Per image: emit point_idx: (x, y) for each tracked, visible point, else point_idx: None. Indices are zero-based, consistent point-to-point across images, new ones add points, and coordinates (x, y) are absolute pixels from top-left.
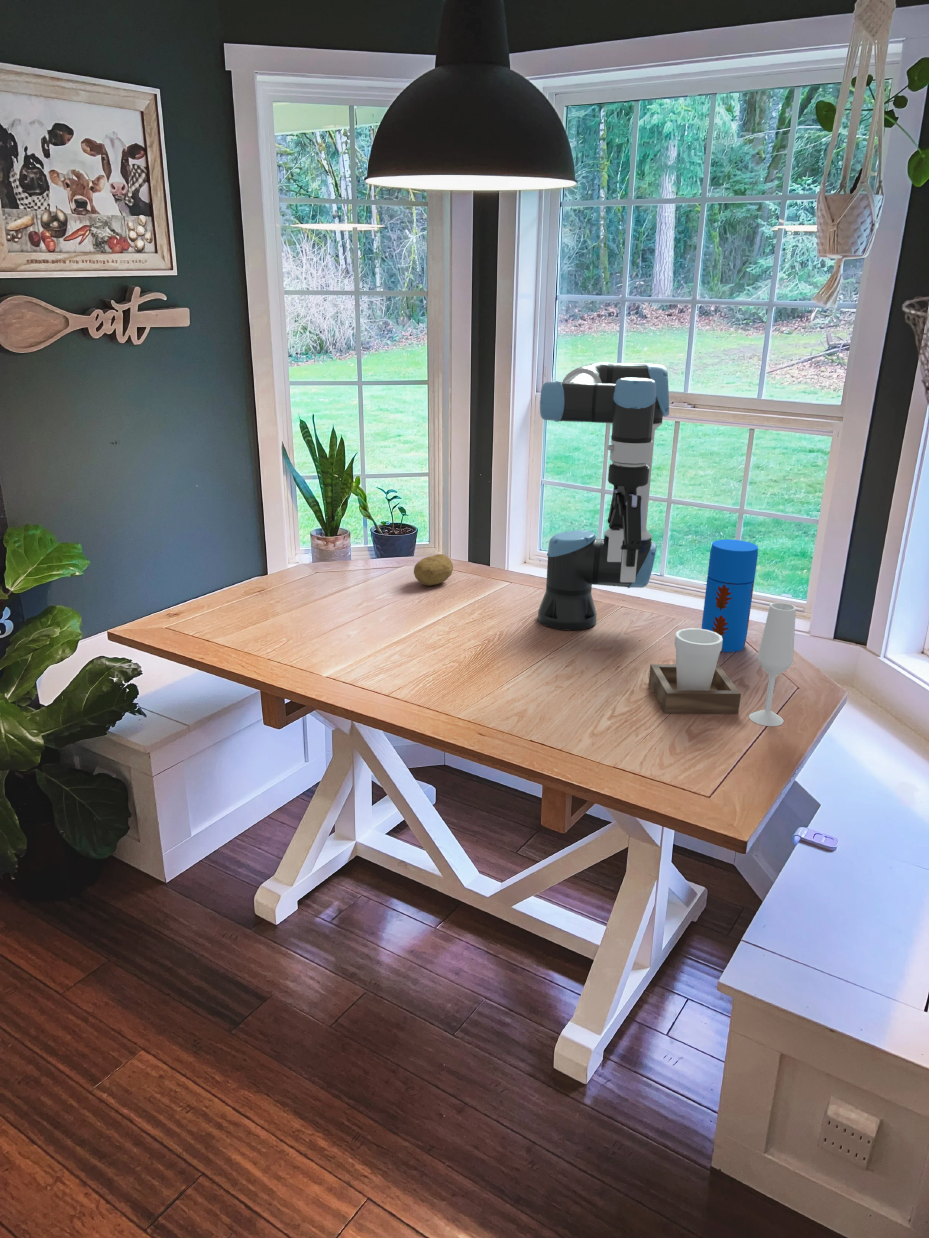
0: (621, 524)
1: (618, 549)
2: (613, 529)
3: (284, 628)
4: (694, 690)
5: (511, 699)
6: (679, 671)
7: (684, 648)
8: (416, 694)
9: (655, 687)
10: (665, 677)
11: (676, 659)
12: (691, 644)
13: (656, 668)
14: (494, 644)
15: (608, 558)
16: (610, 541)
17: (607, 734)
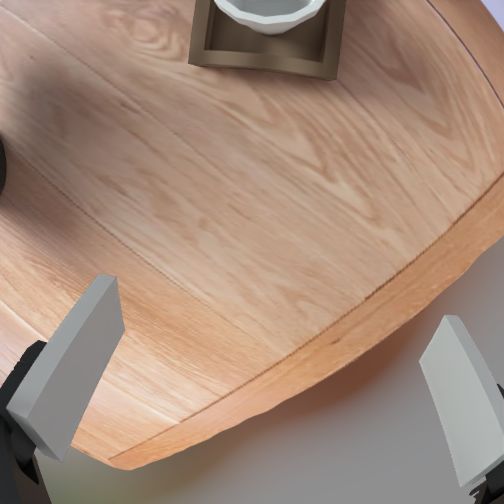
0: (15, 467)
1: (88, 337)
2: (34, 446)
3: (84, 420)
4: (328, 24)
5: (243, 297)
6: (279, 30)
7: (302, 20)
8: (221, 379)
9: (247, 68)
10: (210, 39)
11: (262, 29)
12: (319, 7)
13: (211, 57)
14: (63, 275)
15: (117, 339)
16: (84, 407)
17: (379, 200)
